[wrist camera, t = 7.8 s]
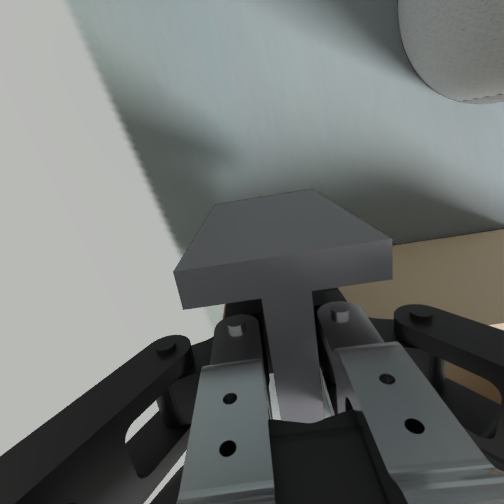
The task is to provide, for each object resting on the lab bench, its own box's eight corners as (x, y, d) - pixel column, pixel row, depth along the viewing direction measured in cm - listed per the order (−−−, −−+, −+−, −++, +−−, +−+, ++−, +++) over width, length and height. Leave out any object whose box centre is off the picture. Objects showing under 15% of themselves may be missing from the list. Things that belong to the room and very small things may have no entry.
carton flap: (522, 143, 19) (1108, 131, 6) (510, 236, 21) (934, 375, 8) (215, 192, 20) (152, 274, 7) (231, 277, 22) (206, 465, 9)
